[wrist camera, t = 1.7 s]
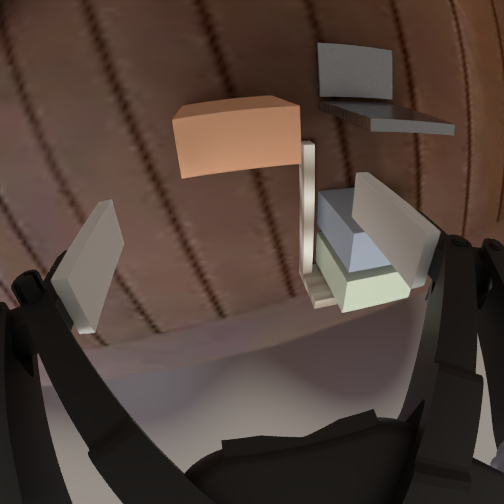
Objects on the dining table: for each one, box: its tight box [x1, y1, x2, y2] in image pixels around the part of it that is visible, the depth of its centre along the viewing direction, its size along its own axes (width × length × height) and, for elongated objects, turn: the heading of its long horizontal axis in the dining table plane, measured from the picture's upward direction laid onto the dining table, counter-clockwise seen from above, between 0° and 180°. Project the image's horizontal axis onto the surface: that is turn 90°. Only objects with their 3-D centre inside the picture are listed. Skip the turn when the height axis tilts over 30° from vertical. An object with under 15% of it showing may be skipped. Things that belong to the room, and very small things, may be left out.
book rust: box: [172, 95, 301, 178], centre depth 25 cm, size 4×9×10 cm, turn 95°
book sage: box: [316, 232, 411, 313], centre depth 35 cm, size 4×9×10 cm, turn 95°
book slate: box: [317, 188, 391, 273], centre depth 32 cm, size 4×9×10 cm, turn 94°
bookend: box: [316, 43, 455, 135], centre depth 23 cm, size 8×9×11 cm
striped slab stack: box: [299, 140, 338, 309], centre depth 34 cm, size 18×12×7 cm, turn 5°
